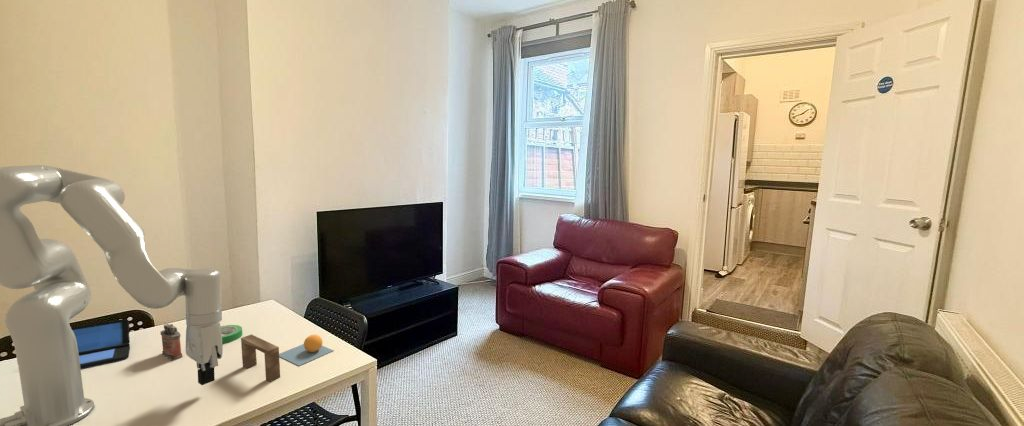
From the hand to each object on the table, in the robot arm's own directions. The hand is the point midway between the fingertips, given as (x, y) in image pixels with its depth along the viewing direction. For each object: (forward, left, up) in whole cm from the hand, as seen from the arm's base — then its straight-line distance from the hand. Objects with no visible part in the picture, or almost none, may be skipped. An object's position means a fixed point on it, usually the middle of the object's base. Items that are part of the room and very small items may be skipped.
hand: (206, 381), depth 112 cm
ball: (+30, -1, -1) cm, 30 cm away
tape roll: (+19, +32, -4) cm, 38 cm away
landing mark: (+28, -1, -3) cm, 28 cm away
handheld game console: (-10, +48, -4) cm, 49 cm away
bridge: (+14, -1, -3) cm, 14 cm away
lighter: (+4, +31, -4) cm, 32 cm away
